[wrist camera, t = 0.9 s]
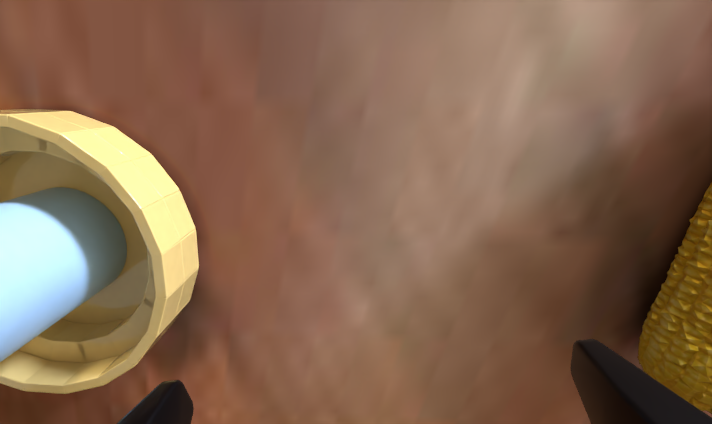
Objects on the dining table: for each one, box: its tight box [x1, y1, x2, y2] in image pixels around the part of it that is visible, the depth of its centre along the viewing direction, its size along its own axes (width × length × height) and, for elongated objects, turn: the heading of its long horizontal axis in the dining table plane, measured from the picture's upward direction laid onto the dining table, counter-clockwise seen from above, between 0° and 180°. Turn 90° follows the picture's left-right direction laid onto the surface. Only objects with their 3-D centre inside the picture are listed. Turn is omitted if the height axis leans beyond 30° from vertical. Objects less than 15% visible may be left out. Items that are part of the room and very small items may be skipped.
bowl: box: [0, 109, 199, 394], centre depth 22 cm, size 15×15×4 cm
